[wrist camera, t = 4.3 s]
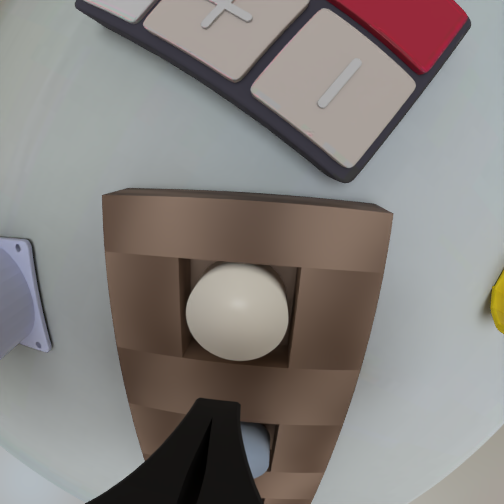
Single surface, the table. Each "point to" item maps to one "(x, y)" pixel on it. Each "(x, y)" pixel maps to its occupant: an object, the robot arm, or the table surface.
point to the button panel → (299, 315)
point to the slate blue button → (256, 447)
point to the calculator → (302, 62)
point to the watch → (498, 303)
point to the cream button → (238, 310)
